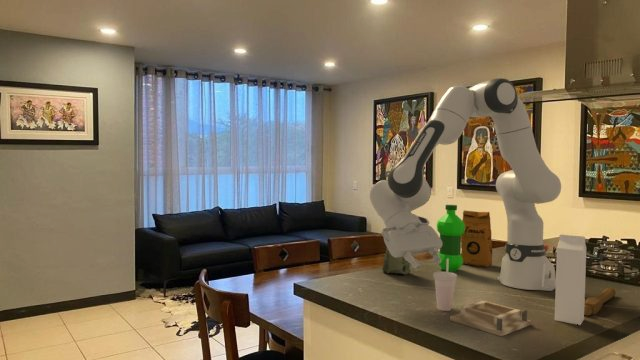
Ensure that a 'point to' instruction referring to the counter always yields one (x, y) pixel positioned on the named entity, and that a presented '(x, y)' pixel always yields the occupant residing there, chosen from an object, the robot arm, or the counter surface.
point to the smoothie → (444, 288)
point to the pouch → (395, 264)
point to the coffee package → (476, 239)
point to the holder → (492, 318)
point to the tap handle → (597, 301)
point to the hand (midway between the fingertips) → (428, 264)
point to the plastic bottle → (450, 239)
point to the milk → (570, 279)
